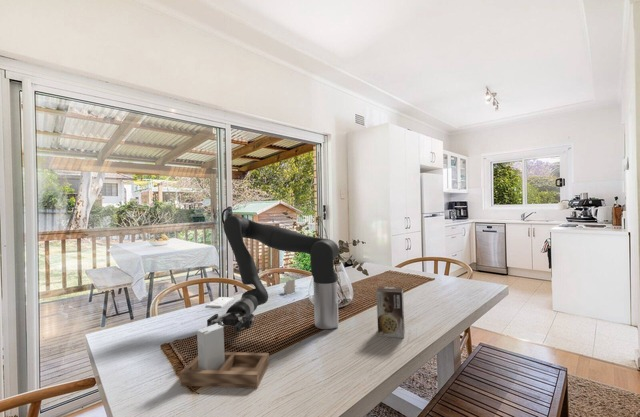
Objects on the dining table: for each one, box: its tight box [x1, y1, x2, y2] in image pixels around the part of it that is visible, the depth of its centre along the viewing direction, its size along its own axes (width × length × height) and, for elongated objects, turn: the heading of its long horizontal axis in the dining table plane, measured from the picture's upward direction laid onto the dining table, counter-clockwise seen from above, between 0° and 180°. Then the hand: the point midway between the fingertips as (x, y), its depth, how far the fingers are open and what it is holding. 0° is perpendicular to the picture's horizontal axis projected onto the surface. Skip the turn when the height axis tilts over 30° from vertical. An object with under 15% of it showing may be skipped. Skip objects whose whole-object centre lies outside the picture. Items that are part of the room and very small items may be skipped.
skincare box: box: [196, 323, 225, 371], centre depth 85 cm, size 6×4×12 cm
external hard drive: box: [205, 296, 235, 309], centre depth 149 cm, size 2×8×12 cm
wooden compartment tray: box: [179, 351, 270, 389], centre depth 85 cm, size 21×12×4 cm, turn 84°
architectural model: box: [282, 279, 297, 295], centre depth 164 cm, size 3×7×7 cm, turn 131°
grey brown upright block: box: [375, 285, 406, 339], centre depth 108 cm, size 9×6×16 cm
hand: (221, 330), depth 92 cm, fingers open, 8 cm apart
